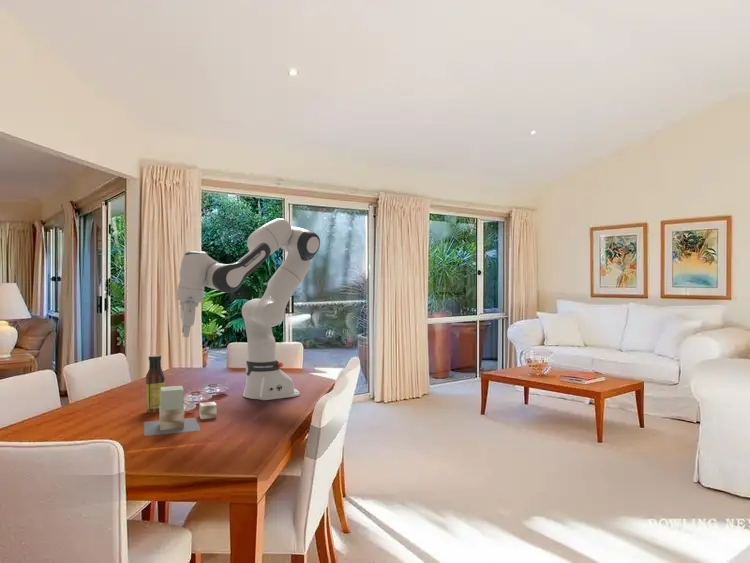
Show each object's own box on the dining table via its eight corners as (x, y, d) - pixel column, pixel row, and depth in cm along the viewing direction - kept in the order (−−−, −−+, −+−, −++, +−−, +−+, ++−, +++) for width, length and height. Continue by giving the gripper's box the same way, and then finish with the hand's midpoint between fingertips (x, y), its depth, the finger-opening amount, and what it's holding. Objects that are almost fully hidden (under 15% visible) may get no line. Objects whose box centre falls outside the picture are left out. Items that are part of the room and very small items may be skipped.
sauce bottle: (169, 410, 192) (169, 355, 192) (156, 414, 186) (157, 357, 186) (154, 408, 194) (154, 353, 194) (141, 413, 188) (142, 356, 188)
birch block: (182, 422, 175) (182, 403, 175) (184, 428, 169) (184, 408, 169) (159, 424, 172) (159, 405, 172) (160, 430, 166) (160, 410, 166)
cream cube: (214, 416, 186) (214, 401, 186) (216, 419, 182) (216, 405, 182) (199, 417, 184) (199, 402, 184) (200, 421, 180) (201, 406, 180)
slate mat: (195, 419, 181) (195, 417, 181) (200, 432, 167) (200, 430, 167) (143, 423, 175) (143, 422, 175) (144, 437, 160) (144, 435, 160)
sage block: (181, 404, 175) (182, 385, 175) (183, 408, 169) (183, 389, 169) (160, 405, 172) (160, 387, 172) (161, 410, 166) (161, 391, 166)
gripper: (201, 299, 182) (196, 340, 182) (197, 294, 201) (192, 331, 201) (181, 297, 180) (176, 338, 180) (179, 292, 199) (175, 329, 199)
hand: (185, 334), depth 191 cm, fingers open, 8 cm apart
